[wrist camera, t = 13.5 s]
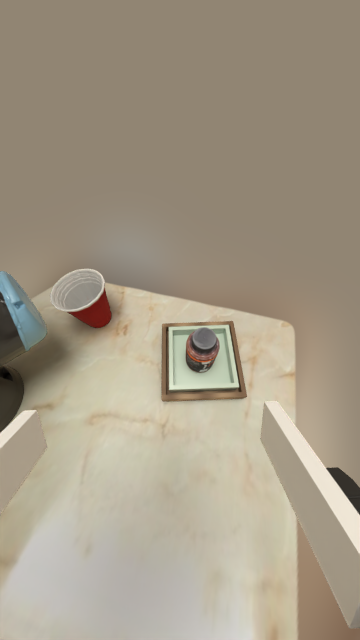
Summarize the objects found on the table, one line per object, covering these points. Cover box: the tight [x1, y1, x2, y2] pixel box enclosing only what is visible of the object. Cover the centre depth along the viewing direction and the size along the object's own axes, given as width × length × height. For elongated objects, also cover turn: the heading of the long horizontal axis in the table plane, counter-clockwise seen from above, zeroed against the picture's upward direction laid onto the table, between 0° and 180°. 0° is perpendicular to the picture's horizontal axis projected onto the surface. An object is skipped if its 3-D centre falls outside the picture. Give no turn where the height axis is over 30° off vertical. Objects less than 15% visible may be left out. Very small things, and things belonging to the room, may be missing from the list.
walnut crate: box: [162, 321, 247, 401], centre depth 43 cm, size 16×16×3 cm
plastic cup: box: [50, 269, 111, 328], centre depth 44 cm, size 11×11×12 cm
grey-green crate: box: [169, 325, 239, 393], centre depth 42 cm, size 13×13×4 cm
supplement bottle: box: [186, 327, 220, 373], centre depth 37 cm, size 6×6×11 cm
